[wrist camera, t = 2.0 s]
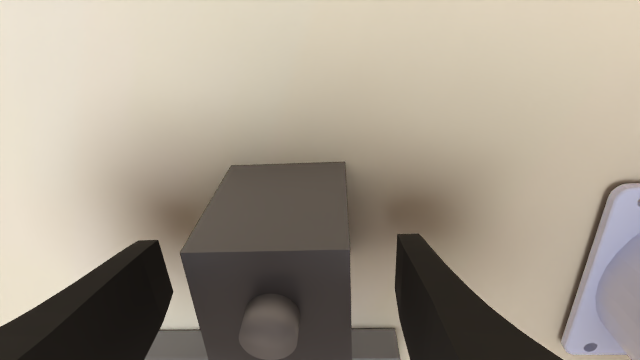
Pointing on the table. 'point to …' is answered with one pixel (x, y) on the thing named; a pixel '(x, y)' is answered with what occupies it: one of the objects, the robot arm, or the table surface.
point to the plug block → (274, 264)
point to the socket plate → (190, 356)
